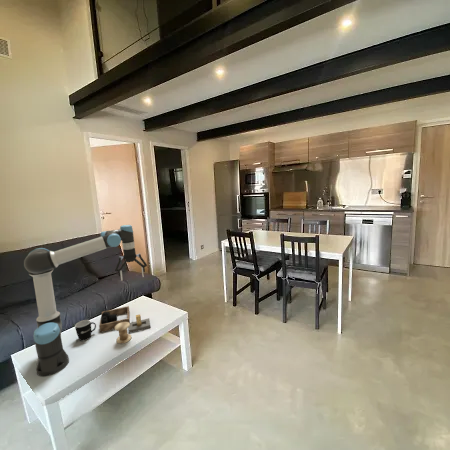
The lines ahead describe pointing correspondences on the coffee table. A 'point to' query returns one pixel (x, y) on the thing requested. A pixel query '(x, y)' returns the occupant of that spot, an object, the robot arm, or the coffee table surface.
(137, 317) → the block
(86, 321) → the mug
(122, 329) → the wooden spool
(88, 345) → the coffee table surface
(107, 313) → the film camera
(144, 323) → the board
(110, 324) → the caddy
